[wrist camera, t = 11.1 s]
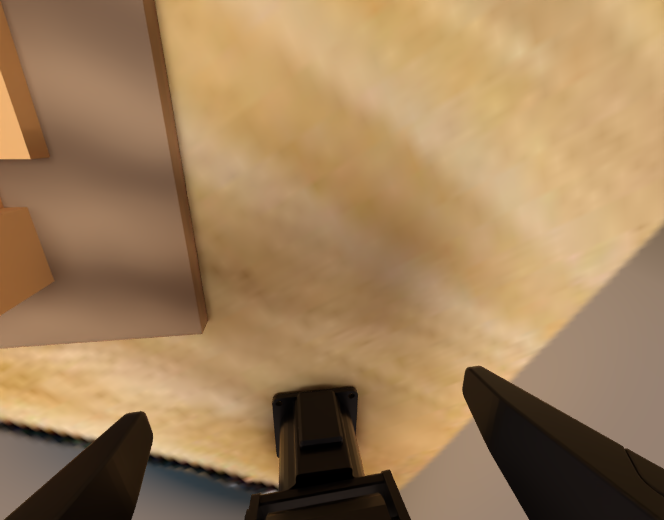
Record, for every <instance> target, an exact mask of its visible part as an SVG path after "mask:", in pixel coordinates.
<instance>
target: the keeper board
mask: <svg viewBox="0 0 664 520" xmlns="http://www.w3.org/2000/svg"><path fill="white" fill-rule="evenodd" d="M0 1H1V4H2V7H3V10H4V14H5V17H6V20H7V23H8V26H9V29H10V32H11V36H12V39H13V42H14V45H15V48H16V51H17V54H18V57H19V61H20V64H21V67H22V70H23V73H24V76H25V79H26V83H27V86H28V89H29V92H30V95H31V98H32V101H33V105H34V108H35V111H36V114H37V117H38V120H39V123H40V127H41V130H42V133H43V136H44V139H45V142H46V145H47V148H48V152H49V155H50V157H48V158H37V159H0V199H1V201H2V204H3V206H4V207H27V208H28V210H29V213H30V216H31V219H32V221H33V224H34V227H35V229H36V232H37V235H38V238H39V240H40V243H41V246H42V249H43V251H44V254H45V257H46V259H47V262H48V265H49V268H50V270H51V273H52V276H53V279H54V282H52V283H51V284H49V285H48V286H46V287H45V288H43V289H41V290H40V291H38V292H37V293H35V294H34V295H32V296H30V297H29V298H27V299H26V300H24V301H23V302H21V303H19V304H18V305H16V306H15V307H13V308H12V309H10V310H8V311H7V312H5V313H4V314H2V315H1V316H0V348H14V347H28V346H41V345H55V344H69V343H83V342H97V341H111V340H124V339H138V338H152V337H166V336H180V335H193V334H202V333H203V331H204V328H205V326H206V323H207V321H208V319H207V313H206V307H205V301H204V295H203V289H202V283H201V277H200V271H199V265H198V259H197V253H196V247H195V241H194V235H193V229H192V223H191V217H190V211H189V205H188V199H187V193H186V187H185V181H184V175H183V169H182V163H181V157H180V151H179V145H178V139H177V133H176V127H175V121H174V115H173V109H172V103H171V97H170V91H169V85H168V80H167V74H166V68H165V62H164V56H163V50H162V44H161V38H160V32H159V26H158V20H157V14H156V8H155V2H154V0H0Z"/></svg>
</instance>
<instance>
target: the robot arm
mask: <svg viewBox="0 0 664 520" xmlns="http://www.w3.org/2000/svg"><path fill="white" fill-rule="evenodd" d="M462 390H463V395H464V398H465V400H466V402H467V404H468V407H469V409H470V411H471V413H472V415H473V417H474V419H475V422H476V424H477V426H478V428H479V430H480V433H481V435H482V437H483V439H484V441H485V443H486V445H487V447H488V449H489V451H490V453H491V455H492V456H493V458H494V460H495V461H496V463H497V465H498V467H499V468H500V470H501V472H502V474H503V475H504V477H505V479H506V480H507V482H508V484H509V486H510V487H511V489H512V491H513V493H514V494H515V496H516V498H517V499H518V501H519V503H520V505H521V506H522V508H523V510H524V511H525V513H526V515H527V517H528V518H529V520H664V469H663V468H661V467H659V466H658V465H656V464H654V463H652V462H650V461H649V460H647V459H645V458H643V457H641V456H640V455H638V454H636V453H634V452H633V451H631V450H629V449H624V447H623V446H621V445H620V444H618V443H616V442H615V441H613V440H611V439H609V438H607V437H606V436H604V435H602V434H600V433H599V432H597V431H595V430H593V429H592V428H590V427H588V426H586V425H584V424H583V423H581V422H579V421H577V420H576V419H574V418H572V417H570V416H569V415H567V414H565V413H563V412H562V411H560V410H558V409H556V408H554V407H553V406H551V405H549V404H547V403H546V402H544V401H542V400H540V399H539V398H537V397H535V396H533V395H531V394H530V393H528V392H526V391H524V390H523V389H521V388H519V387H517V386H515V385H514V384H512V383H510V382H508V381H507V380H505V379H503V378H501V377H500V376H498V375H496V374H494V373H492V372H491V371H489V370H487V369H485V368H484V367H482V366H473V367H468V368H466V370H465V375H464V381H463V388H462ZM351 393H352V394H351ZM350 394H351V395H350ZM277 401H281V402H277ZM357 401H358V394H357V390H356V389H355V388H354V387H347V388H337V389H327V390H317V391H307V392H297V393H287V394H278V395H275V396H274V397H273V401H272V406H273V418H274V429H275V441H276V453H277V457H278V458H279V492H273V493H268V494H262V495H261V493H258V494H252V495H251V500H250V506H249V509H247V511H246V515H245V520H411V519H410V516H409V514H408V512H407V509H406V507H405V504H404V502H403V500H402V497H401V495H400V493H399V490H398V488H397V486H396V483H395V481H394V478H393V476H392V474H391V471H390V470H385V471H381V473H378V474H373V475H367V476H365V474H364V470H363V466H362V461H361V457H360V453H359V449H358V444H357V440H356V420H357ZM152 442H153V433H152V430H151V427H150V424H149V421H148V418H147V416H146V414H145V413H144V412H142V411H140V412H132V413H127V414H125V415H124V416H123V417H121V418H120V419H119V420H118V421H117V422H116V423H115V424H113V425H112V426H111V427H110V428H109V429H108V430H107V431H105V432H104V433H103V434H102V435H101V436H100V437H98V438H97V439H96V440H95V441H94V442H93V443H92V444H90V445H89V446H88V447H87V448H86V449H85V450H83V451H82V452H81V453H80V454H79V455H78V456H77V457H75V458H74V459H73V460H72V461H71V462H70V463H69V464H67V465H66V466H65V467H64V468H63V469H62V470H60V471H59V472H58V473H57V474H56V475H55V476H54V477H52V478H51V479H50V480H49V481H48V482H47V483H46V484H44V485H43V486H42V487H41V488H40V489H39V490H38V491H36V492H35V493H34V494H33V495H32V496H31V497H29V498H28V499H27V500H26V501H25V502H24V503H22V504H21V505H20V506H19V507H18V508H17V509H16V510H15V511H13V512H12V513H11V514H10V515H9V516H8V517H6V518H5V519H4V520H131V519H132V516H133V513H134V510H135V507H136V503H137V500H138V496H139V492H140V489H141V484H142V481H143V477H144V473H145V469H146V465H147V462H148V458H149V454H150V450H151V446H152Z"/></svg>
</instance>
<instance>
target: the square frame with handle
mask: <svg viewBox="0 0 664 520" xmlns="http://www.w3.org/2000/svg"><path fill="white" fill-rule="evenodd" d="M48 157H50V155H49V152H48V148H47V145H46V142H45V139H44V136H43V133H42V130H41V127H40V123H39V120H38V117H37V114H36V111H35V108H34V105H33V101H32V98H31V95H30V92H29V89H28V86H27V83H26V79H25V76H24V73H23V70H22V67H21V64H20V61H19V57H18V54H17V51H16V48H15V45H14V42H13V39H12V36H11V32H10V29H9V26H8V23H7V20H6V17H5V14H4V10H3V7H2V4H1V1H0V159H37V158H48ZM52 282H54V279H53V276H52V273H51V270H50V268H49V265H48V262H47V259H46V257H45V254H44V251H43V249H42V246H41V243H40V240H39V238H38V235H37V232H36V229H35V227H34V224H33V221H32V219H31V216H30V213H29V210H28V208H27V207H4V206H3V204H2V201H1V199H0V316H1V315H2V314H4V313H5V312H7V311H8V310H10V309H12V308H13V307H15V306H16V305H18V304H19V303H21V302H23V301H24V300H26V299H27V298H29V297H30V296H32V295H34V294H35V293H37V292H38V291H40V290H41V289H43V288H45V287H46V286H48V285H49V284H51V283H52Z"/></svg>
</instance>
